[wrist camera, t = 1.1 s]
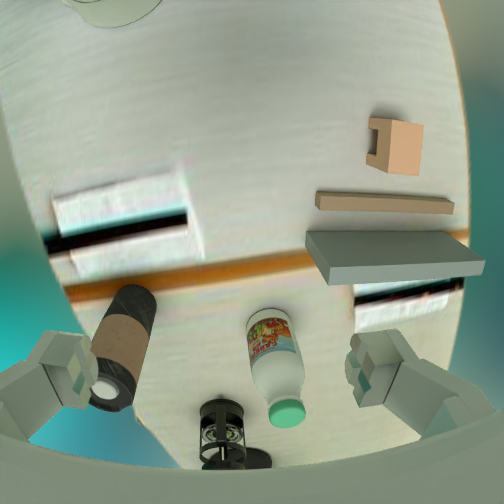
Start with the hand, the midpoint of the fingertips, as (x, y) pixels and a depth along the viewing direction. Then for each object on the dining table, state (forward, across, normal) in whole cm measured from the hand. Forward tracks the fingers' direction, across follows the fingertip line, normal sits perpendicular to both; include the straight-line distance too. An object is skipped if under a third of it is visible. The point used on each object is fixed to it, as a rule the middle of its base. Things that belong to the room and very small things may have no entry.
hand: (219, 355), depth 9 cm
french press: (+37, +1, +50) cm, 62 cm away
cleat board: (+37, -25, +7) cm, 45 cm away
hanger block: (+37, -23, -5) cm, 44 cm away
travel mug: (+37, +14, +22) cm, 45 cm away
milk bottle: (+37, -8, +26) cm, 46 cm away
